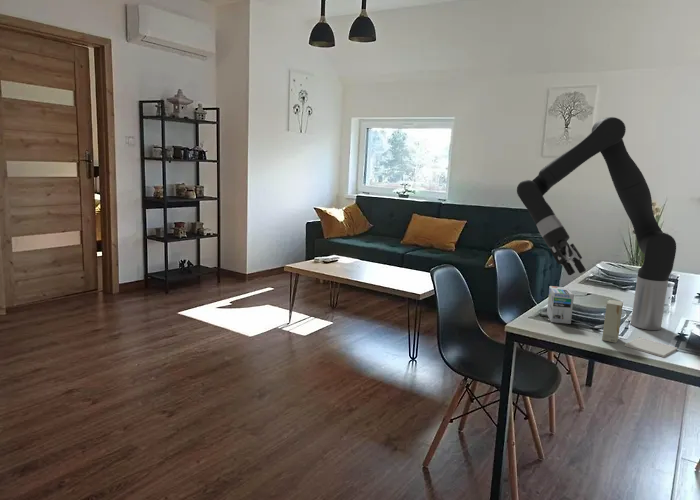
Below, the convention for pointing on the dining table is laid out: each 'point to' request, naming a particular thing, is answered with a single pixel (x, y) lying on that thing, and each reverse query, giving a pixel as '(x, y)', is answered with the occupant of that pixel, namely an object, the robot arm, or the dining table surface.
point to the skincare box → (612, 321)
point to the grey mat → (651, 347)
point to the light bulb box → (560, 304)
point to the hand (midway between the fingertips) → (577, 273)
